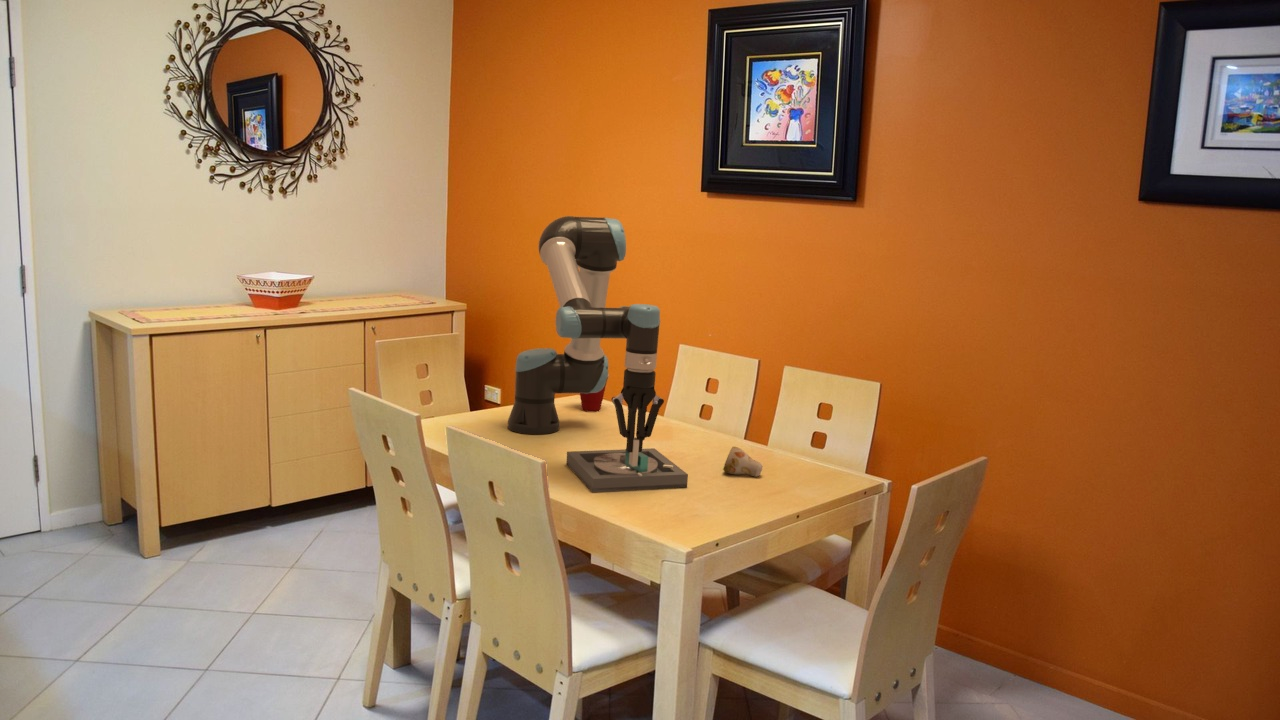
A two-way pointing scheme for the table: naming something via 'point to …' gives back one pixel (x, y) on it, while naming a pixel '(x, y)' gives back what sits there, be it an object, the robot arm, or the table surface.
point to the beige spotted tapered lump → (741, 463)
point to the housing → (663, 479)
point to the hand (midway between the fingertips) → (633, 464)
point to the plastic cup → (592, 400)
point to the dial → (623, 464)
